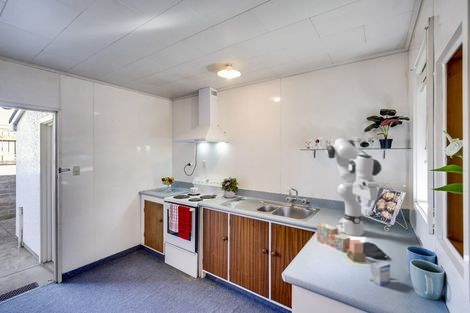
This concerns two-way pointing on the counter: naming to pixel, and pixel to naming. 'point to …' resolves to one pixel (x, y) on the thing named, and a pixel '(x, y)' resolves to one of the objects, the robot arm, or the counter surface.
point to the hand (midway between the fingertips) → (363, 204)
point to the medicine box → (380, 272)
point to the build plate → (355, 262)
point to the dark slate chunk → (374, 251)
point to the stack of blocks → (332, 237)
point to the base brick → (356, 256)
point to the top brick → (356, 247)
